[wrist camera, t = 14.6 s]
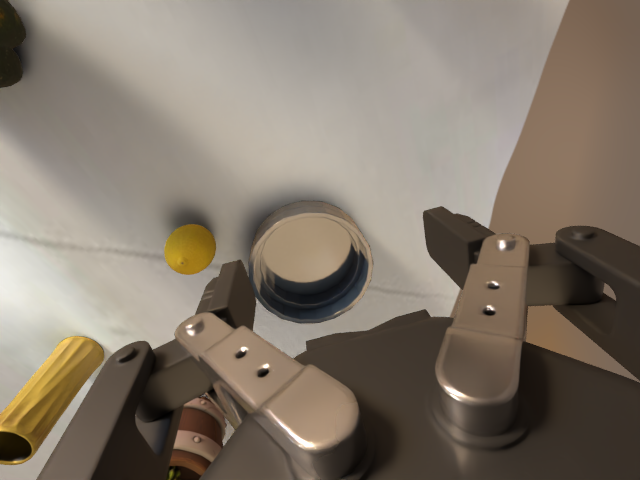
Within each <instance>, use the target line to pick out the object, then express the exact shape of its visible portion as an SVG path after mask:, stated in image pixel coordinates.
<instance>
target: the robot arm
mask: <svg viewBox="0 0 640 480" xmlns="http://www.w3.org/2000/svg"><path fill="white" fill-rule="evenodd" d="M423 221H424V230H425V238H426V246H427V250H428V252H429V254H430V256H431V258H432V259H433V260H434V261H435V262H436V263H437V264H438V265H439V266H440V267H441V268H442V269H443V270H444V271H445V272H446V273H447V274H448V275H449V277H450V278H451V279H452V280H453V281H454V282H455V283H456V284H457V285H458V286H459V287H460V288H461V289H462V290H463V292H462V295H461V298H460V301H459V305H458V308H457V311H456V315H455V317H454V318H450V317H431V316H430V315H429V313H428V312H427V310H426V309H424V310H421V311H417V312H413V313H410V314H406V315H402V316H398V317H395V318H393V319H391V320H389V321H387V322H385V323H383V324H381V325H379V326H377V327H375V328H372V329H370V330H367V331H358V332H346V333H335V334H331V335H328V336H324V337H320V338H317V339H313V340H309V341H306V347H307V351H305V352H303V353H301V354H299V355H298V356H296V357H295V358H291V357H290V356H288V355H287V354H285V353H284V352H282V351H281V350H279V349H278V348H276V347H275V346H273V345H272V344H271V343H269V342H268V341H266V340H265V339H263V338H262V337H260V336H259V335H257V334H256V333H254V332H253V325H254V316H255V307H256V299H255V294H254V291H253V288H252V285H251V283H250V280H249V277H248V275H247V272H246V269H245V267H244V264H243V262H242V261H241V260H236V261H233V262H229V263H225V264H223V265H222V268H221V271H220V274H219V277H216V278H213V279H212V280H211V281H210V282H209V283H208V284H207V286H206V288H205V290H204V294H203V295H202V298H201V301H200V303H199V306H198V308H197V311H196V313H195V315H194V316H192V317H190V318H188V319H186V320H185V321H184V322H182V323H181V324H180V325H179V326H178V327H177V329H176V331H175V334H174V335H175V338H176V339H174V340H172V341H170V342H168V343H166V344H164V345H162V346H160V347H158V348H156V349H153V350H152V348H151V346H150V345H149V343H148V342H146V341H137V342H134V343H131V344H129V345H126V346H124V347H123V348H121V349H119V350H118V351H117V352H115V353H114V354H113V355H112V356H111V357H110V358H109V359H108V360H107V361H106V363H105V364H104V366H103V368H102V369H101V371H100V373H99V375H98V376H97V378H96V380H95V381H94V383H93V385H92V386H91V388H90V390H89V391H88V393H87V395H86V397H85V398H84V400H83V402H82V403H81V405H80V407H79V408H78V410H77V412H76V413H75V415H74V417H73V419H72V420H71V422H70V424H69V425H68V427H67V429H66V430H65V432H64V434H63V435H62V437H61V439H60V441H59V442H58V444H57V446H56V447H55V449H54V451H53V452H52V454H51V456H50V457H49V459H48V461H47V463H46V464H45V466H44V468H43V469H42V471H41V473H40V474H39V476H38V478H37V479H36V480H166V476H167V472H168V468H169V464H170V460H171V456H172V452H173V448H174V444H175V440H176V436H177V432H178V428H179V424H180V420H181V416H182V412H183V407H184V404H186V403H188V402H190V401H191V400H193V399H195V398H197V397H199V396H201V395H203V394H206V395H207V397H208V398H209V399H210V400H211V402H212V403H213V404H214V405H215V406H216V407H217V409H218V410H219V411H220V412H221V413H222V414H223V416H224V417H225V418H226V419H227V420H228V421H229V423H230V424H231V425H232V426H233V428H234V429H235V432H234V433H233V435H232V436H231V437H230V439H229V440H228V441H227V443H226V444H225V445H224V447H223V448H222V449H221V451H220V452H219V453H218V455H217V456H216V457H215V459H214V460H213V461H212V463H211V464H210V465H209V467H208V468H207V470H206V471H205V472H204V474H203V475H202V476H201V478H200V479H199V480H640V383H639V382H637V381H634V380H631V379H629V378H627V377H624V376H621V375H618V374H615V373H613V372H610V371H607V370H604V369H601V368H599V367H596V366H593V365H590V364H587V363H584V362H581V361H579V360H576V359H573V358H570V357H567V356H565V355H561V354H559V353H556V352H553V351H550V350H548V349H545V348H542V347H539V346H536V345H533V344H530V343H527V342H526V331H527V313H528V306H544V305H553V307H554V308H555V309H556V310H557V311H558V312H560V313H561V314H562V315H563V316H564V317H565V318H567V319H568V320H569V321H570V322H571V323H573V324H574V325H575V326H576V327H577V328H578V329H580V330H581V331H582V332H583V333H584V334H586V335H587V336H588V337H589V338H590V339H591V340H593V341H594V342H595V343H596V344H597V345H598V346H600V347H601V348H602V349H603V350H604V351H606V352H607V353H608V354H609V355H610V356H611V357H613V358H614V359H615V360H616V361H617V362H618V363H620V364H621V365H622V366H623V367H624V368H625V369H627V370H628V371H629V372H630V373H631V374H633V375H634V376H635V377H636V378H637V379H639V380H640V246H638V245H636V244H633V243H631V242H629V241H627V240H625V239H622V238H620V237H618V236H616V235H614V234H611V233H609V232H607V231H605V230H602V229H599V228H596V227H590V226H570V227H566V228H562V229H560V230H558V231H557V233H556V240H555V243H546V244H536V245H530V242H529V240H528V239H527V238H525V237H523V236H521V235H517V234H511V233H502V234H495V233H494V232H492V231H490V230H489V229H487V228H486V227H484V226H481V224H479V223H478V222H475V220H473V219H471V218H470V217H468V216H465V215H461V214H453V213H451V212H450V211H448V210H447V209H445V208H444V207H442V206H441V207H437V208H433V209H429V210H426V211H424V212H423ZM604 282H605V283H606V284H608V285H609V286H610V287H611V288H612V290H613V291H614V293H615V295H616V301H615V300H614V299H612V298H611V297H609V296H607V295H606V294H604V293H603V289H604ZM135 414H136V416H135Z"/></svg>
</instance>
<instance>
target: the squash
mask: <svg viewBox="0 0 640 480" xmlns="http://www.w3.org/2000/svg"><path fill="white" fill-rule="evenodd" d="M25 38H26V31H25V28H24V26H23V23H22V21H21V19H20V17H19V15H18V14H17V12H16V10H15V9H14V8H13V7H12V5H11V4H10V3H9V2H8V1H7V0H0V88H2V87H8V86H12V85H14V84H15V83H17V82H19V81H20V80H21V78H22V75H23V70H22V66H21V62H20V59H19V57H18V55H17V54H16V52H15V51H14V50H13V48H15V47H17V46H19V45H21V44H22V42H23V41H24V40H25Z"/></svg>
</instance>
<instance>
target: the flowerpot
mask: <svg viewBox="0 0 640 480" xmlns="http://www.w3.org/2000/svg"><path fill="white" fill-rule="evenodd" d="M226 426H227V424H226V423H225V420H224V417H223V415H222V413H221V412H220V411H219V410H218V409H217V407H216V406H215V405H214V404H213V403H212V402H211V400H210V399H208V398H206V397H202V398H200V397H197V398H195V399H193V400H191V401H190V402H188V403H186V404H184V407H183V412H182V416H181V420H180V424H179V428H178V432H177V436H176V440H175V444H174V448H173V452H172V456H171V460H170V464H169V468H168V472H167V476H166V480H199V479H200V478H201V476H202V475H203V474H204V472H205V471H206V470H207V468H208V467H209V465H210V464H211V463H212V461H213V460H214V459H215V457H216V456H217V455H218V453H219V452H220V451H221V449H222V448H223V442H222V441H223V439H224V436H225V428H226Z"/></svg>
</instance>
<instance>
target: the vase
mask: <svg viewBox="0 0 640 480" xmlns="http://www.w3.org/2000/svg"><path fill="white" fill-rule="evenodd" d="M103 360H104V353H103V350H102V348H101V347H100V345H99V344H98V343H96V342H95V341H93V340H91V339H89V338H86V337H80V336H74V337H69V338H66V339H64V340H63V341H61V342H60V343H59V344H58V345H57V347H56V349H55V350H54V351H53V353H52V354H51V355H50V356H49V358H48V359H47V360H46V361H45V362H44V363H43V365H42V366H41V367H40V368H39V369H38V371H37V372H36V373H35V374H34V375H33V376H32V377H31V379H30V380H29V381H28V382H27V383H26V385H25V386H24V387H23V388H22V389H21V391H20V392H19V393H18V394H17V396H16V397H15V398H14V399H13V400H12V402H11V403H10V404H9V405H8V406H7V407H6V408H5V409H4V410H3V412H2V413H1V414H0V464H4V465H17V464H22V463H24V462H26V461H28V460H29V459H31V458H32V457H33V456H34V454H35V453H36V452H37V450H38V449H39V447H40V446H41V444H42V443H43V441H44V440H45V438H46V437H47V436H48V434H49V433H50V431H51V430H52V428H53V427H54V425H55V424H56V422H57V421H58V420H59V418H60V417H61V415H62V414H63V413H64V411H65V410H66V409H67V407H68V406H69V404H70V403H71V401H72V400H73V399H74V397H75V396H76V394H77V393H78V391H79V390H80V389H81V387H82V386H83V385H84V383H85V382H86V381H87V379H88V378H89V377H90V376H91V374H92V373H93V372H94V371H95V370H96V369H97V368H98V367H99V366H100V365H101V363H102V362H103Z"/></svg>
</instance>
